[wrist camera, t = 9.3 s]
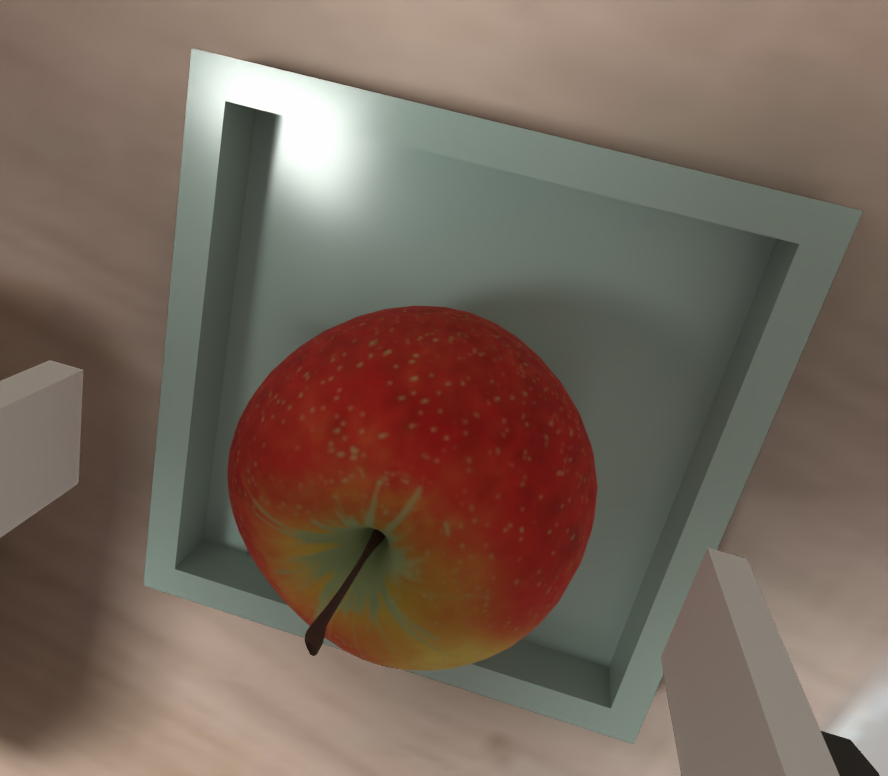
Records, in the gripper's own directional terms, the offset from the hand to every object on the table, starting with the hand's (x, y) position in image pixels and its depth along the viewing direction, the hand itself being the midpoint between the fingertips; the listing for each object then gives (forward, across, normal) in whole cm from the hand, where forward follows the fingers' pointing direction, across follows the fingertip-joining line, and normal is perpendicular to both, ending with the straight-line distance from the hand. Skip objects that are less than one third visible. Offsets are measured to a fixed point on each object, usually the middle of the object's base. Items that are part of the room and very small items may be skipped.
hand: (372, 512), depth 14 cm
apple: (+7, +1, 0) cm, 7 cm away
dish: (+7, 0, 0) cm, 7 cm away
